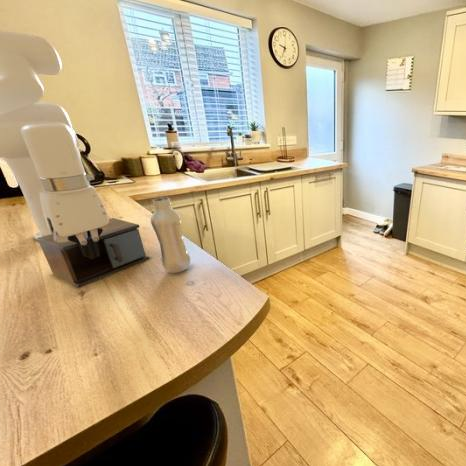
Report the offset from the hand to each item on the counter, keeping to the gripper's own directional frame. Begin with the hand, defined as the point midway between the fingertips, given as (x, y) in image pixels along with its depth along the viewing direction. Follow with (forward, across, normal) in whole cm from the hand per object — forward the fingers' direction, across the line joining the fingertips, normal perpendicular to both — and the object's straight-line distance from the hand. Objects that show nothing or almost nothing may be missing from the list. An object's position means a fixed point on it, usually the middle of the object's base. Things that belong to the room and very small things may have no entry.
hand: (93, 256), depth 71 cm
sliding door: (+6, -8, -1) cm, 10 cm away
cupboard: (+7, -4, -8) cm, 12 cm away
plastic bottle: (+7, -12, +12) cm, 19 cm away
